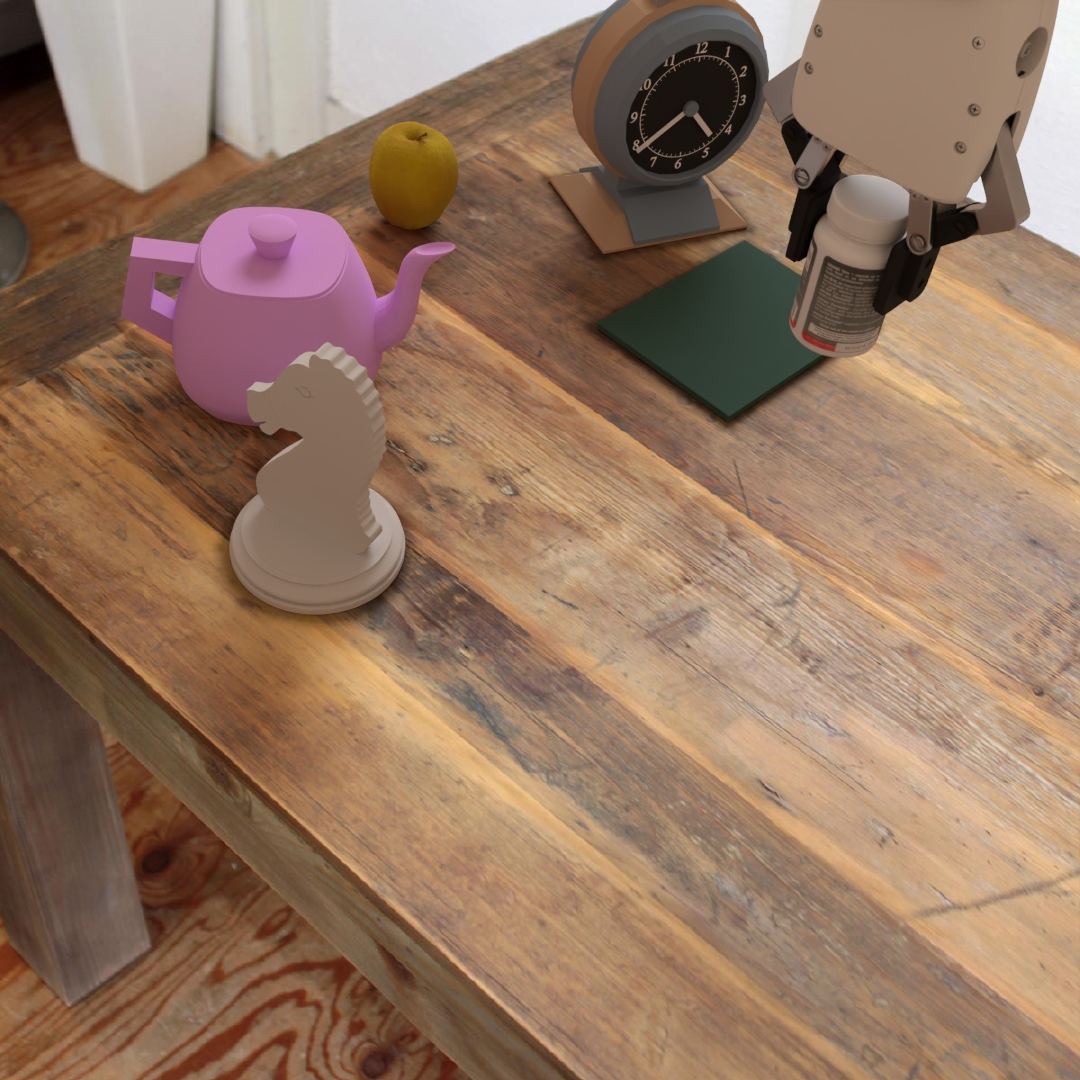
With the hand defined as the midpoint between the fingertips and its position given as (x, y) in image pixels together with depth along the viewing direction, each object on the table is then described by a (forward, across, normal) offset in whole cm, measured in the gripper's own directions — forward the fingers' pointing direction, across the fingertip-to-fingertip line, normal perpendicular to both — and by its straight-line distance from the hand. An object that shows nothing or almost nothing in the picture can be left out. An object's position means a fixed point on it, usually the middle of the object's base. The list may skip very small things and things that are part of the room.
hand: (850, 273), depth 68 cm
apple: (+18, +36, -3) cm, 40 cm away
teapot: (+18, +28, +14) cm, 37 cm away
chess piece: (+18, +16, +23) cm, 33 cm away
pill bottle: (+4, 0, 0) cm, 4 cm away
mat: (+18, +13, -12) cm, 25 cm away
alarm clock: (+18, +27, -18) cm, 37 cm away
